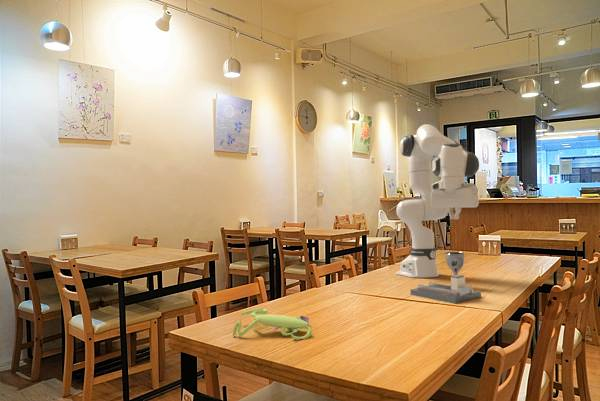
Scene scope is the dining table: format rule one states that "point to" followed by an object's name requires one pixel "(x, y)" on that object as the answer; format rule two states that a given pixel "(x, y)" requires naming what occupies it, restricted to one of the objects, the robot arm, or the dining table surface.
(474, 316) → the dining table surface
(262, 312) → the figurine
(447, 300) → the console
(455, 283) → the fader tab
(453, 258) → the wine glass
